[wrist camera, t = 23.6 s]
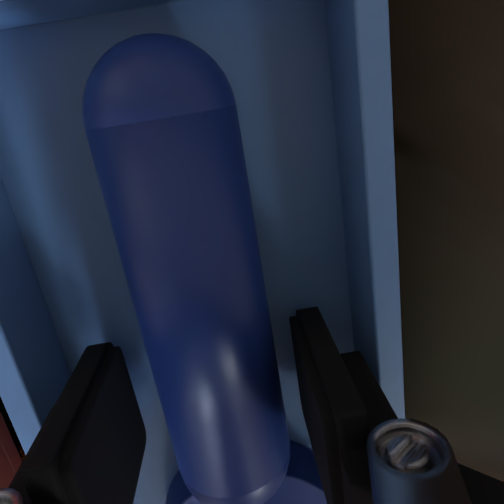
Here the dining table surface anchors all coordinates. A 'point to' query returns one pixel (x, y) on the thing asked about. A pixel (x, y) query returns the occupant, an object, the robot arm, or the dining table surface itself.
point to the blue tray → (260, 183)
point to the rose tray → (7, 456)
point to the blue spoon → (195, 269)
